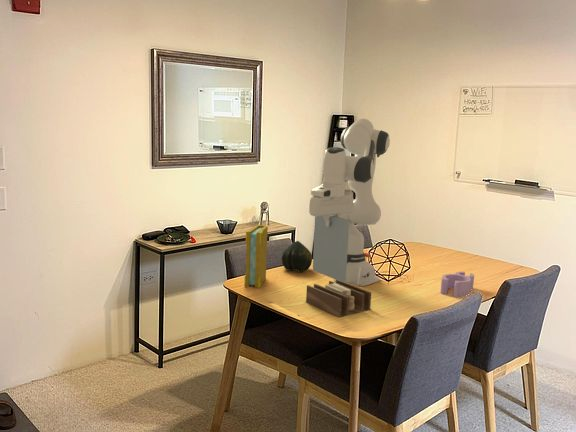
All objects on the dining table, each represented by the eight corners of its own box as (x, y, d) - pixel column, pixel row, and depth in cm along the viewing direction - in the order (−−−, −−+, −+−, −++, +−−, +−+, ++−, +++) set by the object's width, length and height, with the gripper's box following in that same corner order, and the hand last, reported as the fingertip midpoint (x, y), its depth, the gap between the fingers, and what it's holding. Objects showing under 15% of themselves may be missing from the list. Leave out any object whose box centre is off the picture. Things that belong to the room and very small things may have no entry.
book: (258, 287, 257) (260, 232, 253) (244, 286, 259) (245, 231, 254) (267, 277, 274) (269, 225, 269) (254, 276, 275) (255, 224, 270)
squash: (295, 265, 276) (308, 239, 281) (272, 260, 285) (285, 235, 291) (309, 280, 285) (321, 255, 291) (286, 275, 295) (298, 250, 300)
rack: (336, 298, 248) (337, 279, 246) (371, 312, 231) (373, 292, 230) (303, 305, 237) (304, 285, 235) (338, 321, 221) (339, 300, 219)
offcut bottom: (330, 299, 241) (331, 293, 240) (354, 309, 230) (354, 303, 229) (321, 301, 238) (322, 295, 237) (345, 311, 227) (345, 305, 226)
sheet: (315, 270, 235) (318, 212, 231) (345, 281, 221) (349, 219, 217) (312, 270, 234) (315, 212, 230) (342, 282, 220) (346, 220, 216)
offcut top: (334, 289, 239) (335, 283, 238) (350, 295, 231) (350, 289, 230) (325, 290, 236) (325, 284, 236) (340, 297, 228) (341, 291, 227)
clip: (454, 283, 277) (455, 269, 276) (479, 289, 269) (481, 275, 268) (435, 292, 262) (436, 278, 261) (461, 299, 254) (462, 284, 253)
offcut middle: (332, 294, 239) (333, 289, 239) (354, 303, 230) (354, 296, 230) (324, 297, 236) (324, 291, 235) (345, 305, 227) (345, 299, 227)
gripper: (347, 187, 230) (345, 222, 233) (307, 190, 218) (305, 226, 221) (358, 190, 226) (356, 224, 228) (318, 193, 213) (316, 229, 216)
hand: (331, 225), depth 224 cm, fingers closed on sheet, 2 cm apart
